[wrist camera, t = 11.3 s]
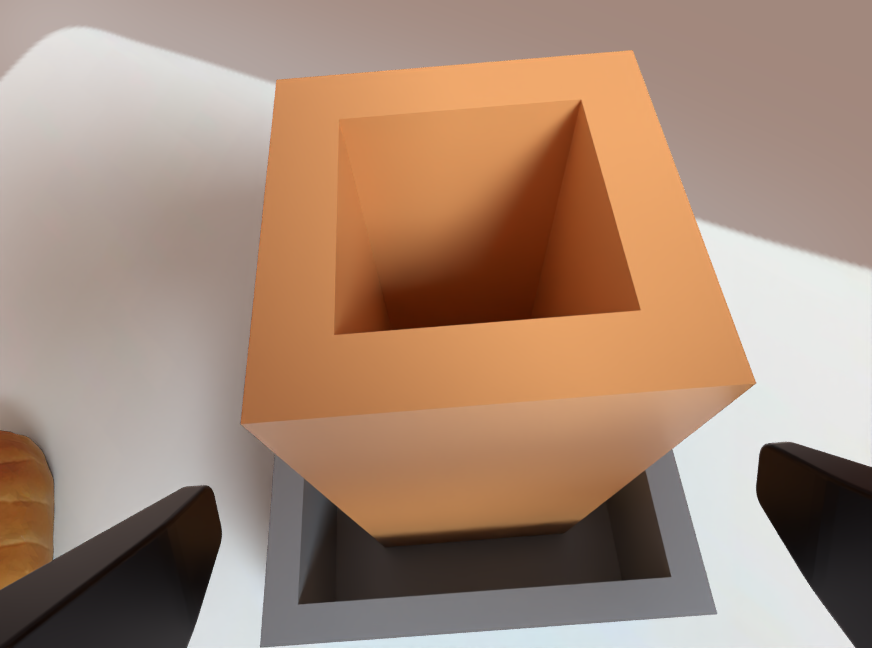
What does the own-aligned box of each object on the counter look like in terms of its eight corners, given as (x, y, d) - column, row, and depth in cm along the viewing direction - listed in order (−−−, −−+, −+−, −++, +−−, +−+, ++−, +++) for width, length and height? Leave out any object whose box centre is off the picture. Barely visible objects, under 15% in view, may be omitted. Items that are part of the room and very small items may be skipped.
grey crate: (648, 613, 16) (717, 613, 12) (314, 638, 17) (259, 647, 12) (584, 318, 21) (615, 242, 17) (324, 339, 21) (288, 267, 17)
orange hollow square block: (564, 533, 17) (755, 383, 6) (384, 547, 17) (240, 424, 6) (536, 367, 20) (632, 50, 9) (381, 380, 20) (276, 80, 9)
